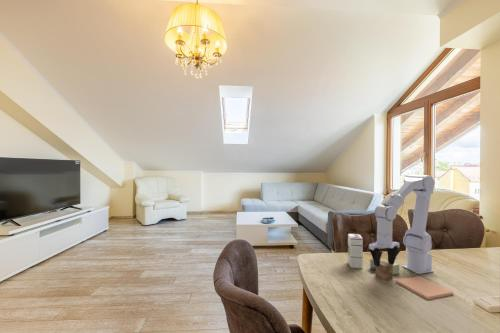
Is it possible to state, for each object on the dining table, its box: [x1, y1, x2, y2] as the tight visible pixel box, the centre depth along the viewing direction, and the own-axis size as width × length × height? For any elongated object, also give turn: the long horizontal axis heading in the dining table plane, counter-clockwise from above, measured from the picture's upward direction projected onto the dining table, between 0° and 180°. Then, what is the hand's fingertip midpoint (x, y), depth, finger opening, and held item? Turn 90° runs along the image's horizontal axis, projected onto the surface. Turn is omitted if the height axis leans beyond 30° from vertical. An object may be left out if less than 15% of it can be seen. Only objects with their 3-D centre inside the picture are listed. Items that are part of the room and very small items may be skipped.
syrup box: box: [347, 233, 364, 269], centre depth 113 cm, size 6×6×14 cm
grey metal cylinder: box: [369, 258, 376, 272], centre depth 109 cm, size 4×4×4 cm
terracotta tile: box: [395, 275, 454, 301], centre depth 93 cm, size 13×13×1 cm
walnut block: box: [375, 260, 394, 281], centre depth 101 cm, size 4×4×6 cm
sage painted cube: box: [393, 262, 400, 275], centre depth 106 cm, size 4×4×4 cm
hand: (383, 264), depth 101 cm, fingers open, 7 cm apart
